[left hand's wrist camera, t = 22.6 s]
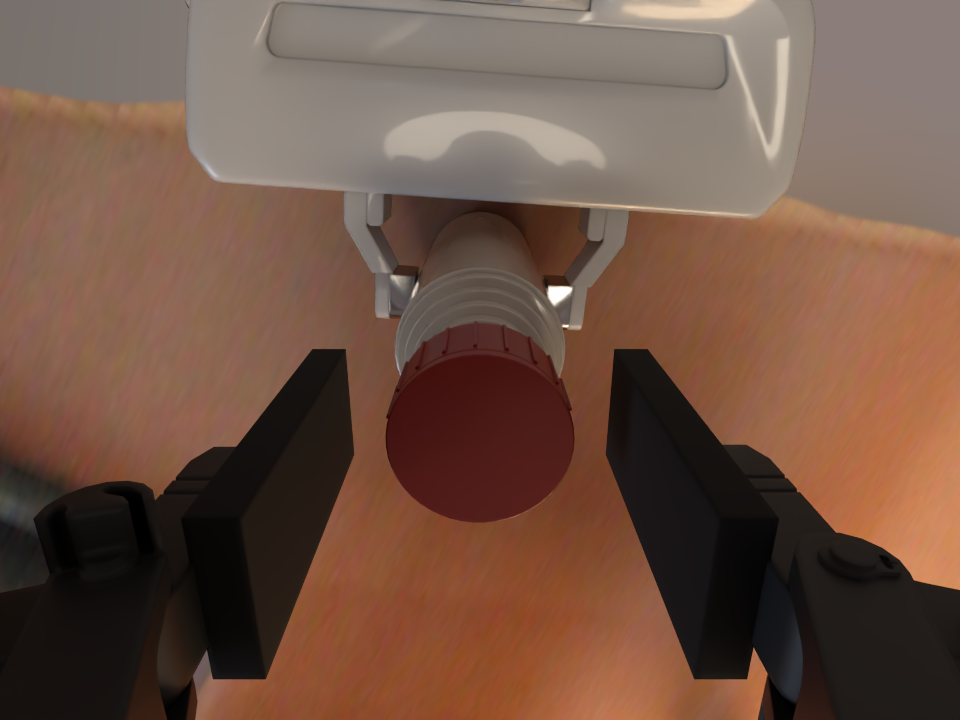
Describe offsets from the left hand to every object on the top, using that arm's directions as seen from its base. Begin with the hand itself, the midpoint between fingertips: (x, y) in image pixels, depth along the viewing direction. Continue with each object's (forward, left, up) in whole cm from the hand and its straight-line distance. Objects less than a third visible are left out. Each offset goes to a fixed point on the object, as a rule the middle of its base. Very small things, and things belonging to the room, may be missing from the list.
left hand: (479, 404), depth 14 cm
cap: (0, 0, +2) cm, 2 cm away
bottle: (0, 0, -16) cm, 16 cm away
